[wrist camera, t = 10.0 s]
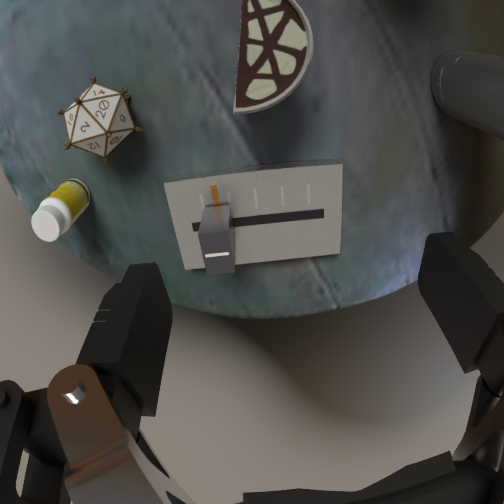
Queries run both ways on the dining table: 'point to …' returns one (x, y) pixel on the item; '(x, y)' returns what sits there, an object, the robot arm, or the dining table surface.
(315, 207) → the console board
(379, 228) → the dining table surface
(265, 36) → the food container
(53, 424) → the robot arm
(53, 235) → the supplement bottle
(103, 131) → the game die
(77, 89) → the dining table surface
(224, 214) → the fader knob
